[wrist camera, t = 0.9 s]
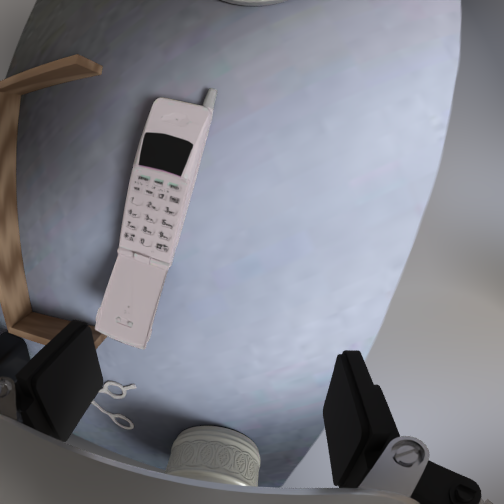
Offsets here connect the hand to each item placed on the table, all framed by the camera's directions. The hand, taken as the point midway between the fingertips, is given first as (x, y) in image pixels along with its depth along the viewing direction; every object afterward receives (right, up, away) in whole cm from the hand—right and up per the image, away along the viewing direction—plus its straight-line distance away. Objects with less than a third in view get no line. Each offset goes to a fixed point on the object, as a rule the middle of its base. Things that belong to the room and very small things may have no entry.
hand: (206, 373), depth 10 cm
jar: (-4, -25, +28) cm, 38 cm away
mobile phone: (-7, +9, +19) cm, 22 cm away
